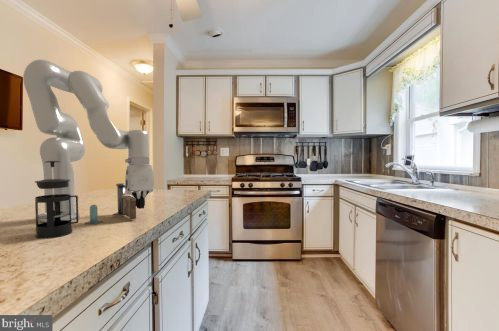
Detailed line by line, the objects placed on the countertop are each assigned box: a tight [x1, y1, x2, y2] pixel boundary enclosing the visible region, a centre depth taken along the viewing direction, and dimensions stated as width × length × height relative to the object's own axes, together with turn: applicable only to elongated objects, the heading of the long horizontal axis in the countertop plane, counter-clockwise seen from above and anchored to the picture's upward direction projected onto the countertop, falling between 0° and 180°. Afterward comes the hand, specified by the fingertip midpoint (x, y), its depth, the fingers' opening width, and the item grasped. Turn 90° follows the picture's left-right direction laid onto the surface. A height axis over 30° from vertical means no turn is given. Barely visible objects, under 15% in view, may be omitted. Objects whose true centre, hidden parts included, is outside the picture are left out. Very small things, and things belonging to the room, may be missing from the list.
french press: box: [34, 161, 80, 240], centre depth 84 cm, size 12×9×23 cm
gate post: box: [112, 182, 126, 216], centre depth 113 cm, size 5×5×13 cm
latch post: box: [84, 204, 103, 225], centre depth 98 cm, size 4×4×7 cm
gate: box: [121, 193, 137, 220], centre depth 107 cm, size 14×2×8 cm, turn 40°
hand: (140, 208), depth 107 cm, fingers closed
